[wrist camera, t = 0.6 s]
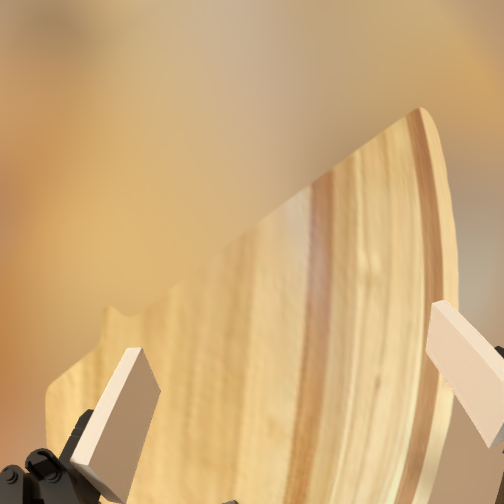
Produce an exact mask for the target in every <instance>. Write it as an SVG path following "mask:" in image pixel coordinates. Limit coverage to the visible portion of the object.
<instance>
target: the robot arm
mask: <svg viewBox="0 0 504 504" xmlns="http://www.w3.org/2000/svg"><path fill="white" fill-rule="evenodd" d="M425 352H426V353H427V354H428V356H429V357H430V359H431V360H432V361H433V363H434V364H435V366H436V367H437V369H438V370H439V371H440V373H441V374H442V376H443V377H444V379H445V380H446V382H447V383H448V385H449V386H450V388H451V389H452V391H453V392H454V394H455V395H456V397H457V398H458V400H459V401H460V403H461V404H462V406H463V407H464V409H465V411H466V412H467V414H468V415H469V417H470V419H471V420H472V422H473V423H474V425H475V427H476V428H477V430H478V431H479V433H480V435H481V436H482V438H483V440H484V441H485V443H486V445H487V446H488V448H490V447H492V446H494V445H496V444H498V443H500V442H501V441H503V440H504V348H502V347H500V346H497V347H495V348H493V347H492V346H491V345H490V344H489V343H488V342H487V341H486V339H485V338H484V337H483V336H482V335H481V334H479V332H478V331H477V330H476V329H475V328H474V327H473V326H472V325H471V324H470V323H469V322H468V321H467V320H466V319H465V318H464V317H463V316H462V315H461V314H460V313H459V312H458V311H457V310H456V309H455V308H454V307H453V306H451V305H450V304H449V303H448V302H447V301H446V300H442V301H438V302H434V303H432V308H431V316H430V324H429V331H428V337H427V343H426V349H425ZM160 392H161V391H160V388H159V386H158V384H157V382H156V379H155V377H154V375H153V372H152V370H151V368H150V365H149V363H148V361H147V358H146V356H145V353H144V351H143V348H142V347H136V348H127V350H126V351H125V353H124V355H123V357H122V359H121V360H120V362H119V364H118V366H117V368H116V370H115V372H114V373H113V375H112V377H111V379H110V381H109V383H108V385H107V387H106V389H105V390H104V392H103V394H102V396H101V398H100V400H99V402H98V404H97V406H96V408H95V410H90V409H88V410H87V411H86V412H85V413H84V414H83V415H82V416H81V417H80V418H79V420H78V422H77V424H76V425H75V429H73V431H72V433H71V436H70V437H69V439H68V441H67V443H66V445H65V447H64V449H63V451H62V453H61V455H60V457H59V459H58V458H57V457H56V456H55V455H54V454H53V453H52V452H51V451H50V450H48V449H44V448H41V449H37V450H35V451H33V452H31V454H30V455H29V456H28V457H27V459H26V461H25V468H26V469H27V470H28V471H29V472H30V473H25V472H24V471H23V470H22V469H21V468H20V467H19V466H17V465H9V466H7V467H6V468H4V469H3V470H2V472H1V473H0V504H101V502H100V501H99V498H100V495H102V496H103V497H104V498H106V499H107V500H108V501H110V502H115V503H121V504H126V502H127V498H128V495H129V491H130V488H131V485H132V481H133V478H134V474H135V471H136V468H137V464H138V461H139V458H140V455H141V451H142V448H143V445H144V442H145V438H146V435H147V432H148V429H149V426H150V423H151V420H152V417H153V413H154V410H155V407H156V404H157V401H158V398H159V395H160ZM503 453H504V451H503ZM495 504H504V473H503V477H502V481H501V485H500V488H499V492H498V495H497V499H496V502H495Z"/></svg>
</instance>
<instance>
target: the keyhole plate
mask: <svg viewBox="0 0 504 504" xmlns="http://www.w3.org/2000/svg"><path fill="white" fill-rule="evenodd" d="M223 504H237V503H236V502H235V500H233V501H230V502H226V503H223Z"/></svg>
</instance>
